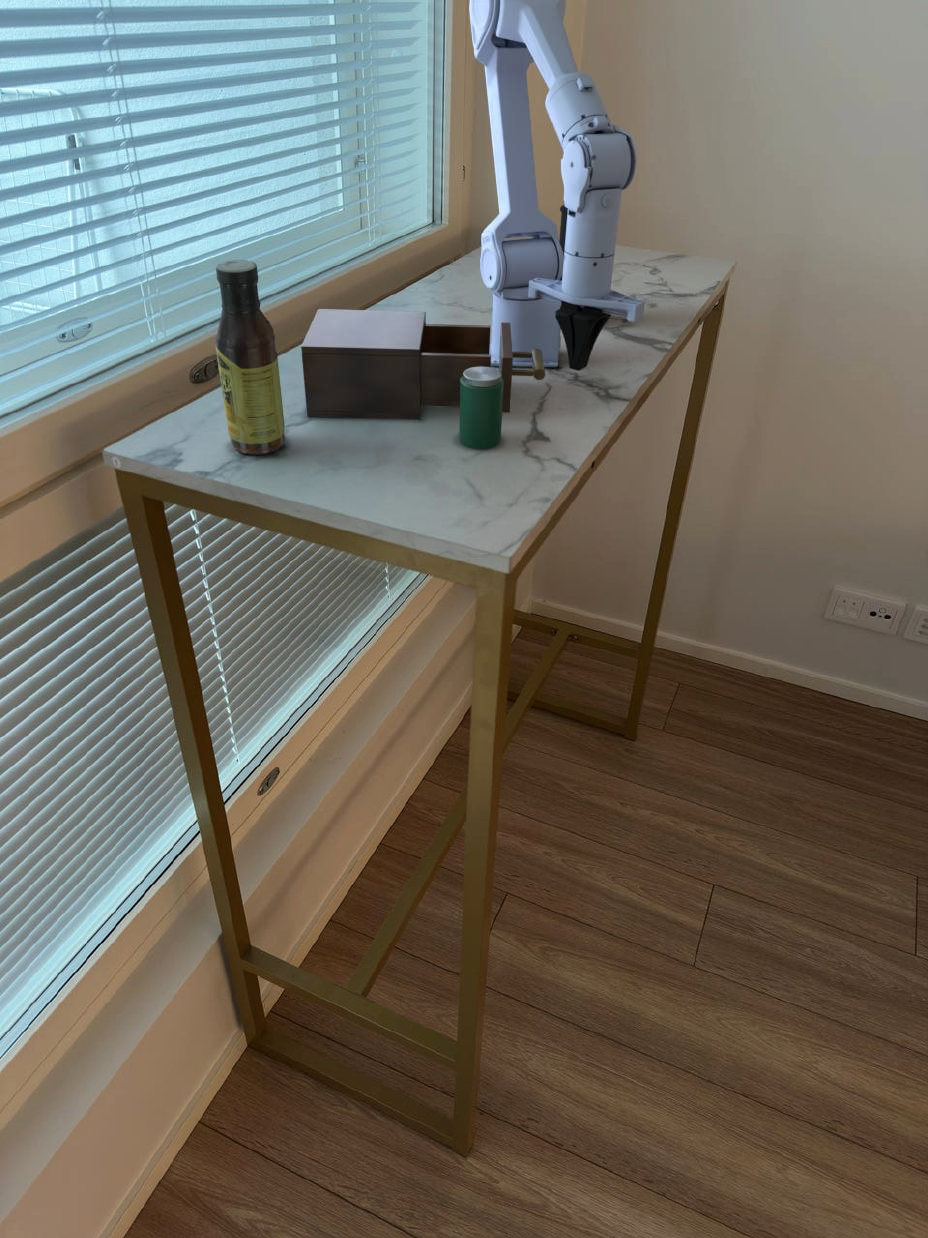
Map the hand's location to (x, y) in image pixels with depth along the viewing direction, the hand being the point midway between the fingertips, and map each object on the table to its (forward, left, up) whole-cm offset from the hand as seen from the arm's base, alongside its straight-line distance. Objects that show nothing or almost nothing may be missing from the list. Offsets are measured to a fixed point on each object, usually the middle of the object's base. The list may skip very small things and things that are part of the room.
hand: (578, 367), depth 111 cm
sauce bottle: (+37, +15, -5) cm, 40 cm away
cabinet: (+26, 0, -4) cm, 26 cm away
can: (+12, +12, -4) cm, 18 cm away
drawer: (+13, 0, -4) cm, 13 cm away
